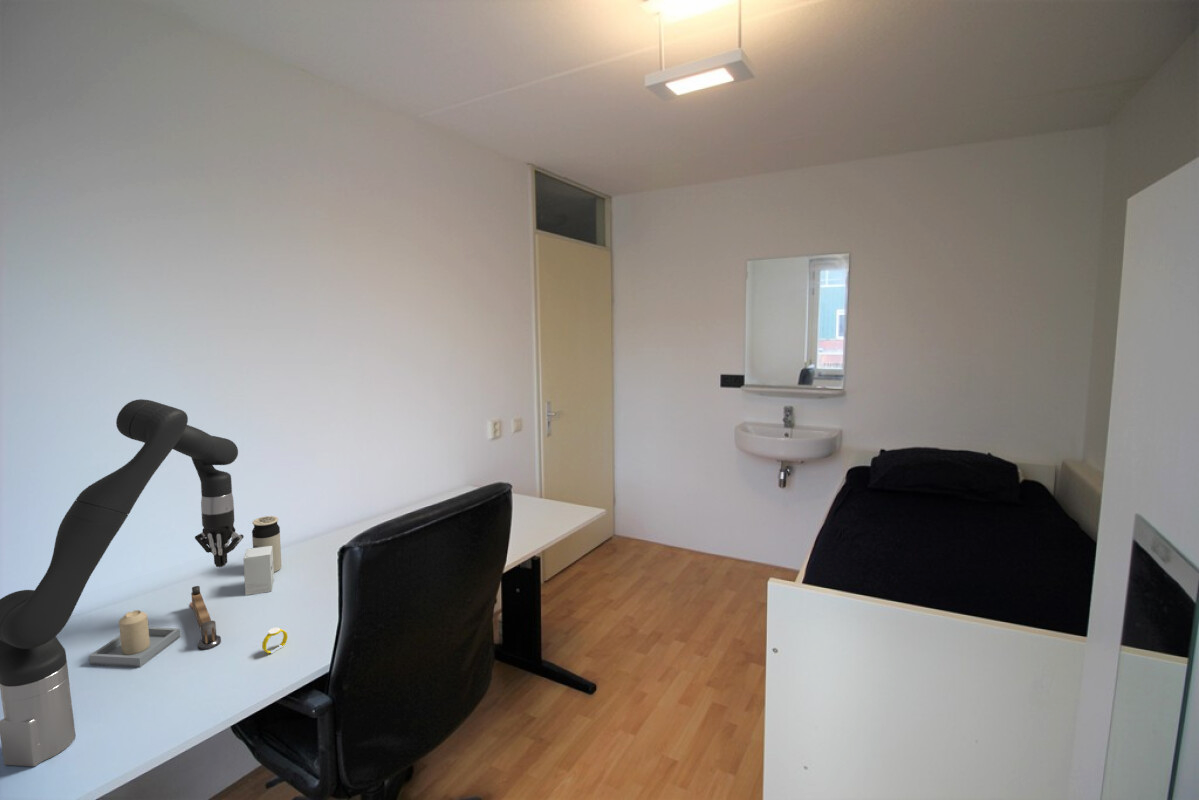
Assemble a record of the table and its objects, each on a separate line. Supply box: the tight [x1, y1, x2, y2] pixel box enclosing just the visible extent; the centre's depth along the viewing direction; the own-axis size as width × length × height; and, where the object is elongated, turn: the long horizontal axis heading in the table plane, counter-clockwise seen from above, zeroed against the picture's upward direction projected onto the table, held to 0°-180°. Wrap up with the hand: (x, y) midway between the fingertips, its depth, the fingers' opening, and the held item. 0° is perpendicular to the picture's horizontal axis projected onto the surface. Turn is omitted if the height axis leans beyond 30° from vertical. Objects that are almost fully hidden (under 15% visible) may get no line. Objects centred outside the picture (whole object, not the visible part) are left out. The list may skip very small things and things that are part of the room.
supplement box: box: [243, 546, 275, 596], centre depth 170 cm, size 7×7×13 cm
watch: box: [261, 626, 288, 654], centre depth 141 cm, size 6×3×6 cm, turn 152°
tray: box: [88, 626, 181, 668], centre depth 139 cm, size 13×13×2 cm
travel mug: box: [251, 515, 282, 573], centre depth 182 cm, size 8×8×18 cm
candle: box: [118, 609, 150, 655], centre depth 138 cm, size 6×6×10 cm
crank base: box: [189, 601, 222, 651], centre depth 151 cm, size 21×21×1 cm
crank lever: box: [190, 585, 217, 644], centre depth 149 cm, size 24×3×6 cm, turn 44°
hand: (220, 565), depth 154 cm, fingers closed
